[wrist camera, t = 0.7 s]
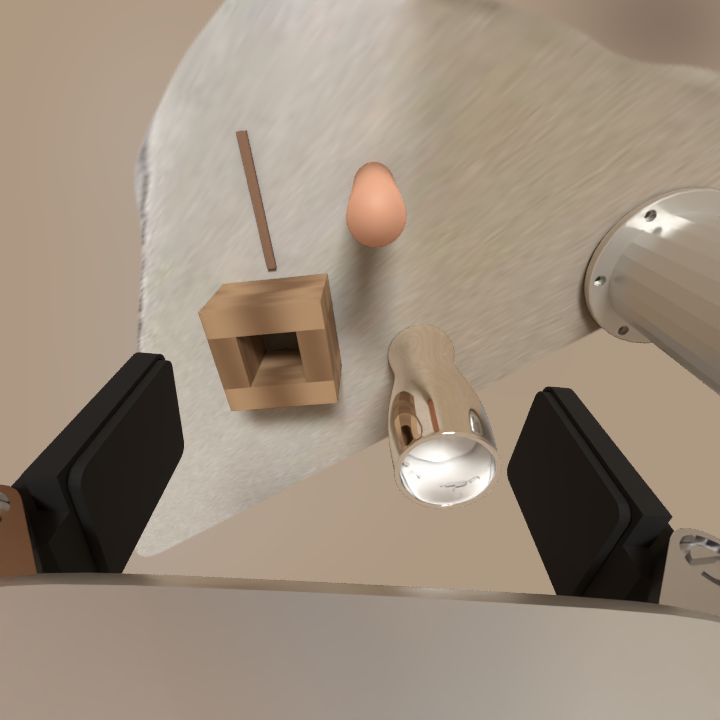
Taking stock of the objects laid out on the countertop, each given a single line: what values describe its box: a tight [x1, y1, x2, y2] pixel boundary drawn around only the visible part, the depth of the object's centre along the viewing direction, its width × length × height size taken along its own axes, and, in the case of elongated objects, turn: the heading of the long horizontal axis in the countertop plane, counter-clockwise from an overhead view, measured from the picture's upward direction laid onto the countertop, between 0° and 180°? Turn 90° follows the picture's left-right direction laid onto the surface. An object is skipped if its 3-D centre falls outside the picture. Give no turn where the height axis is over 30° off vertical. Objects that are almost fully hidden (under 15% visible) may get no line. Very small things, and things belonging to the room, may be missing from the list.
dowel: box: [346, 162, 406, 247], centre depth 26 cm, size 3×3×12 cm
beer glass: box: [388, 325, 501, 509], centre depth 32 cm, size 7×7×15 cm
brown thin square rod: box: [236, 131, 276, 269], centre depth 32 cm, size 1×10×1 cm, turn 6°
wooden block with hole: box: [198, 274, 342, 411], centre depth 34 cm, size 9×9×6 cm
